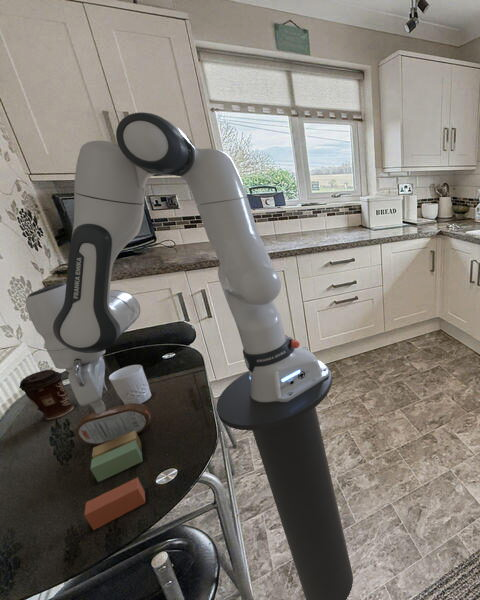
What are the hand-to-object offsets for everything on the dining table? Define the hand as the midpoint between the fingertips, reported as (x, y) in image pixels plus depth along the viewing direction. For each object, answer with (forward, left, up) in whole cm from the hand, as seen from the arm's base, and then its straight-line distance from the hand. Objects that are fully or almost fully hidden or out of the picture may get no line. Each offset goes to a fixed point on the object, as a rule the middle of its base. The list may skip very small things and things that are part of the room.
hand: (102, 401), depth 80 cm
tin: (0, 0, -11) cm, 11 cm away
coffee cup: (+15, -28, -11) cm, 34 cm away
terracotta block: (0, +27, -11) cm, 29 cm away
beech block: (0, +8, -11) cm, 14 cm away
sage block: (0, +13, -11) cm, 17 cm away
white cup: (-4, -17, -11) cm, 21 cm away
